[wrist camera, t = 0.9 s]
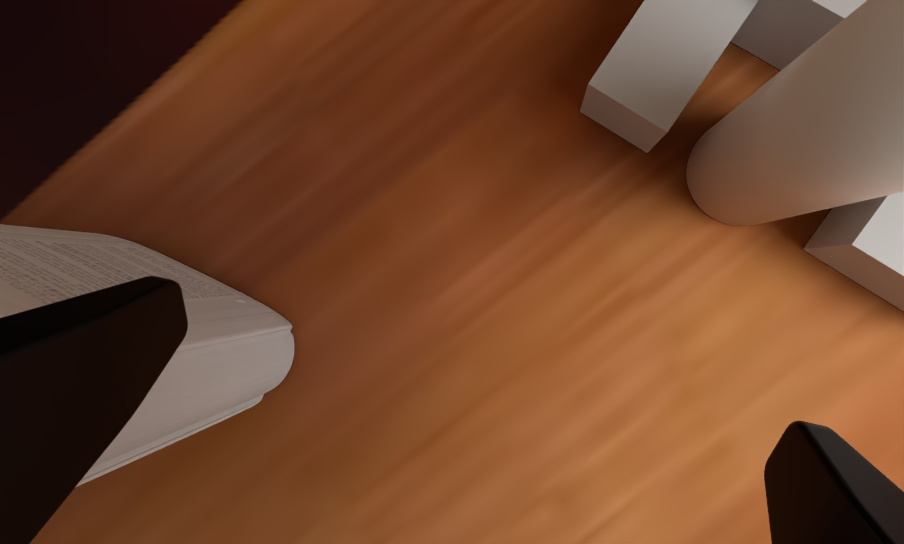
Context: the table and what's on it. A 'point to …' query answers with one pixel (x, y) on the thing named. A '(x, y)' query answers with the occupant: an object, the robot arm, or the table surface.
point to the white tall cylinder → (812, 129)
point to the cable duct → (683, 70)
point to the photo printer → (197, 358)
